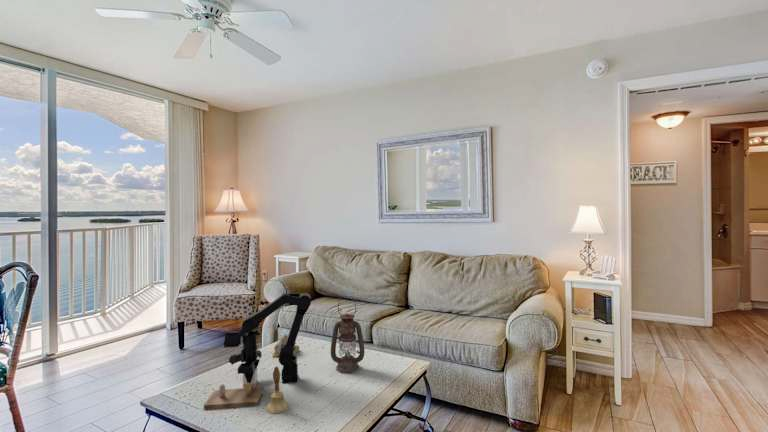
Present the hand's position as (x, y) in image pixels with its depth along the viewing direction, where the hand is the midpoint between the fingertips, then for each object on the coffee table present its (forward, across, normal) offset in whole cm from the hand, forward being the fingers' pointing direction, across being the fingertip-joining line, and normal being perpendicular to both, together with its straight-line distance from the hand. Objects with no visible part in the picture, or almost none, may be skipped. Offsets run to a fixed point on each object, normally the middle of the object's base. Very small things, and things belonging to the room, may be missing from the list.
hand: (250, 380), depth 162 cm
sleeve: (+2, 0, 0) cm, 2 cm away
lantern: (+2, -10, +43) cm, 44 cm away
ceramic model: (+2, -34, +10) cm, 36 cm away
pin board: (+2, +13, -3) cm, 13 cm away
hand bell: (+2, +22, +15) cm, 27 cm away
